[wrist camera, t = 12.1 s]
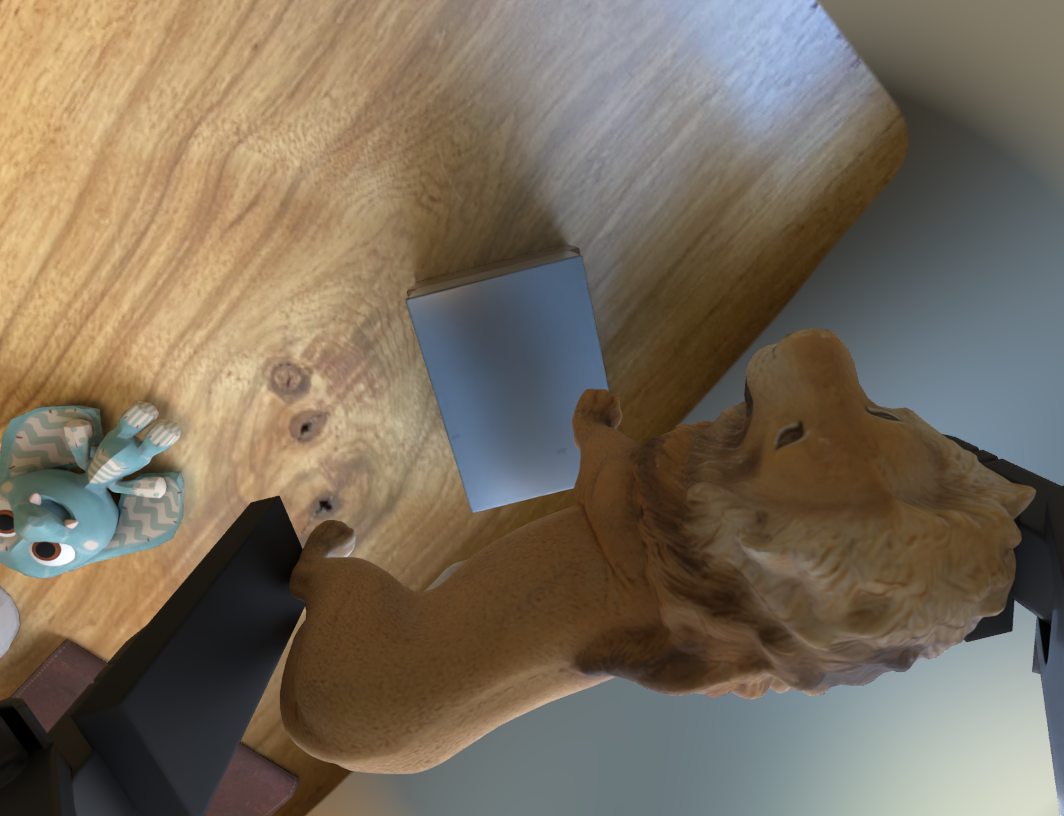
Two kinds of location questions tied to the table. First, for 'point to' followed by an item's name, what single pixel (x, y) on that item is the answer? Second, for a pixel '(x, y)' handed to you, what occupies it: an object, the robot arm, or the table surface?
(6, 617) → the coffee cup
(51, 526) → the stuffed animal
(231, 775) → the notebook
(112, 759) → the robot arm
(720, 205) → the table surface
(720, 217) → the table surface
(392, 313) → the table surface
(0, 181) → the table surface
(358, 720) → the lion figurine
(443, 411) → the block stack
